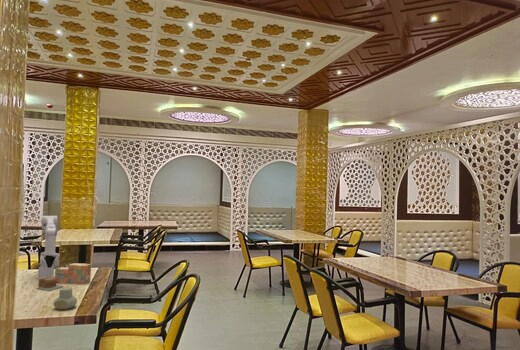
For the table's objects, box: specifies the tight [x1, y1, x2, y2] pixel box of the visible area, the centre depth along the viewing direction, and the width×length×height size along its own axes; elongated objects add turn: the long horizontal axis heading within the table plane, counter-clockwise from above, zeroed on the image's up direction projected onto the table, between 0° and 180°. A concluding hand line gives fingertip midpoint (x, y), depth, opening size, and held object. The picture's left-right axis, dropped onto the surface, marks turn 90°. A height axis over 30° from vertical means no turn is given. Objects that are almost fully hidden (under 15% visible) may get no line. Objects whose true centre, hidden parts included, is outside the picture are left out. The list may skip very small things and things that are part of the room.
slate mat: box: [35, 284, 64, 292], centre depth 232 cm, size 11×10×1 cm
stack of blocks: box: [54, 262, 92, 285], centre depth 247 cm, size 21×6×12 cm, turn 85°
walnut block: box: [37, 277, 57, 288], centre depth 233 cm, size 5×5×9 cm
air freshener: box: [53, 287, 78, 311], centre depth 194 cm, size 11×8×10 cm
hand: (49, 267), depth 243 cm, fingers closed
